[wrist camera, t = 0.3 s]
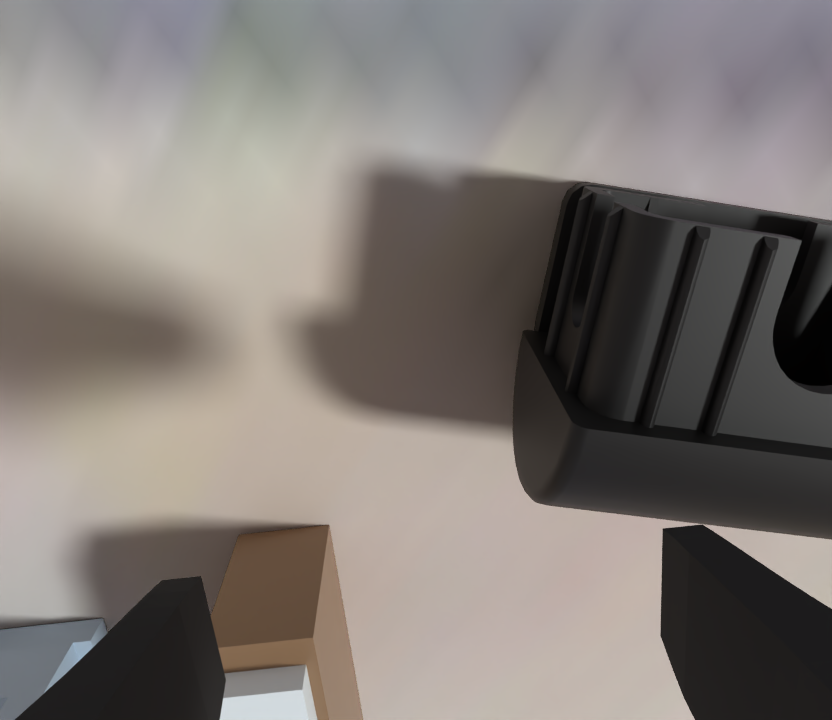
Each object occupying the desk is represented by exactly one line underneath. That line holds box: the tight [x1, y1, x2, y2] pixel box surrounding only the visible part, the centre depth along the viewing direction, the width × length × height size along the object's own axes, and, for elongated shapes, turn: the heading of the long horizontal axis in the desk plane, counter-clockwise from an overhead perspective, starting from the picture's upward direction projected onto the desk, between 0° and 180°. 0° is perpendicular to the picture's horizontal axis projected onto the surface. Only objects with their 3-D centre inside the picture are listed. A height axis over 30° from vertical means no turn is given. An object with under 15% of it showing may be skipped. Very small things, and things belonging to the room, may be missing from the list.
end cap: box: [513, 182, 832, 539], centre depth 17 cm, size 10×7×7 cm
